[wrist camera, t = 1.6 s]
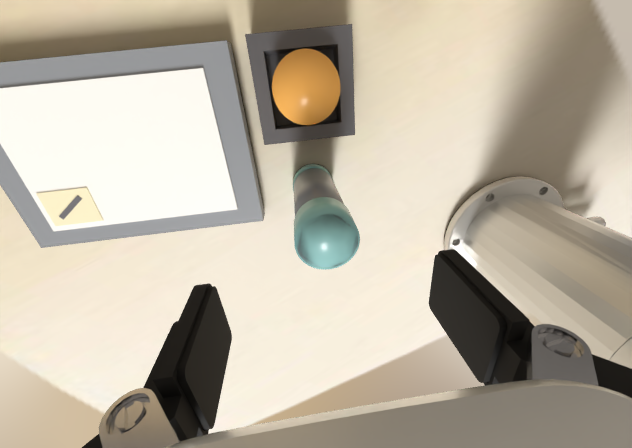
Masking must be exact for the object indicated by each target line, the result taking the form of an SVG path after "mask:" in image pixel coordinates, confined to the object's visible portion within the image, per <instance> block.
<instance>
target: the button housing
mask: <svg viewBox="0 0 632 448" xmlns="http://www.w3.org/2000/svg"><path fill="white" fill-rule="evenodd" d="M245 36H246V42H247V48H248V53H249V59H250V65H251V70H252V76H253V82H254V87H255V93H256V99H257V105H258V110H259V116H260V122H261V127H262V133H263V139H264V144H265V145H268V144H277V143H286V142H295V141H304V140H313V139H322V138H330V137H339V136H348V135H355V116H354V79H353V41H352V24H348V25H338V26H328V27H317V28H307V29H297V30H286V31H276V32H265V33H255V34H245ZM298 49H313V50H316V51H319V52H321V53H322V54H324V55H325V56H327V57H328V58H329V59H330V60H331V62H332V63H333V64H334V66H335V68H336V70H337V72H338V75H339V79H340V96H339V100H338V103H337V105H336V107H335V109H334V110H333V112H332V113H331V114H330V115H329V116H328V117H327V118H326V119H325V120H323V121H321V122H319V123H317V124H313V125H301V124H297V123H294V122H292V121H290V120H289V119H287V118H286V117H285V116H284V115H283V114H282V113H281V112H280V110H279V109H278V107H277V105H276V103H275V100H274V97H273V92H272V81H273V76H274V72H275V70H276V67H277V66H278V64H279V63H280V61H281V60H282V59H283V58H284V57H285V56H286V55H288V54H289V53H291V52H293V51H295V50H298Z"/></svg>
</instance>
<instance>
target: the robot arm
mask: <svg viewBox="0 0 632 448" xmlns="http://www.w3.org/2000/svg"><path fill="white" fill-rule="evenodd" d="M605 226H606V222H605V220H604V219H603V218H601V217H590V218H584V217H582V216H580V215H577V214H575V213H573V212H571V211H568V210H566V209H564V204H563V200H562V197H561V196H560V194H559V192H558V191H557V190H556V189H555V188H554V187H553V186H551V185H550V184H548V183H546V182H544V181H541V180H538V179H535V178H532V177H523V176H517V177H509V178H505V179H502V180H498V181H495V182H493V183H491V184H489V185H487V186H485V187H483V188H482V189H480V190H479V191H477V192H476V193H474V194H473V195H472V196H471V197H470V198H469V199H467V200H466V201H465V202H464V203H463V204H462V206H461V207H460V208H459V209H458V210H457V212H456V213H455V215H454V216H453V218H452V220H451V221H450V223H449V226H448V228H447V231H446V235H445V240H444V250H443V251H439V253H438V255H436V256H435V259H434V267H433V274H432V282H431V290H430V297H429V306H430V309H431V311H432V312H433V314H434V315H435V317H436V318H437V320H438V321H439V323H440V324H441V326H442V327H443V329H444V330H445V332H446V333H447V335H448V336H449V338H450V339H451V341H452V342H453V344H454V345H455V347H456V348H457V350H458V351H459V353H460V354H461V356H462V357H463V359H464V360H465V362H466V363H467V365H468V366H469V368H470V369H471V371H472V372H473V374H474V375H475V377H476V378H477V380H478V381H479V382H481V383H484V384H485V386H480V387H473V388H467V389H461V390H455V391H449V392H442V393H437V394H431V395H424V396H418V397H413V398H406V399H400V400H395V401H389V402H383V403H377V404H371V405H365V406H359V407H354V408H347V409H342V410H336V411H330V412H324V413H319V414H313V415H308V416H302V417H296V418H291V419H285V420H279V421H273V422H268V423H262V424H257V425H251V426H246V427H241V428H236V429H231V430H226V431H221V432H216V433H211V434H208V430H209V429H212V428H213V426H214V423H215V419H216V414H217V409H218V404H219V399H220V394H221V389H222V384H223V379H224V375H225V370H226V365H227V360H228V355H229V350H230V345H231V340H232V335H231V330H230V327H229V324H228V321H227V318H226V315H225V312H224V309H223V306H222V304H221V301H220V298H219V295H218V292H217V289H216V287H215V286H214V287H212V286H211V284H203V285H196V286H194V288H193V290H192V292H191V294H190V297H189V299H188V301H187V303H186V305H185V308H184V310H183V312H182V314H181V317H180V319H179V321H176V322H175V323H174V324H173V326H172V327H171V330H170V332H169V334H168V336H167V338H166V340H165V343H164V345H163V347H162V349H161V351H160V353H159V355H158V358H157V360H156V362H155V364H154V366H153V368H152V370H151V373H150V375H149V377H148V379H147V381H146V383H145V386H144V388H140V389H136V390H133V391H130V392H128V393H127V394H125V395H123V396H122V397H120V398H119V399H118V400H117V401H115V402H114V403H113V404H112V406H111V407H110V408H109V409H108V410H107V411H106V413H105V415H104V416H103V418H102V420H101V423H100V426H99V434H98V435H97V436H96V437H94V438H93V439H92V440H91V441H89V442H88V443H87V444H86V445H84V446H83V447H82V448H632V238H630V237H628V236H626V235H624V234H621V233H619V232H617V231H614V230H612V229H610V228H607V227H605Z"/></svg>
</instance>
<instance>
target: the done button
mask: <svg viewBox="0 0 632 448" xmlns="http://www.w3.org/2000/svg"><path fill="white" fill-rule="evenodd" d="M272 92H273V97H274V100H275V103H276V105H277V107H278V109H279V110H280V112H281V113H282V114H283V115H284V116H285V117H286V118H287V119H289V120H290V121H292V122H294V123H297V124H301V125H313V124H317V123H319V122H321V121H323V120H325V119H326V118H327V117H328V116H329V115H330V114H331V113H332V112H333V110H334V109H335V107H336V105H337V103H338V100H339V96H340V79H339V75H338V72H337V70H336V68H335V66H334V64H333V63H332V62H331V60H330V59H329V58H328V57H327V56H325V55H324V54H322V53H321V52H319V51H316V50H313V49H298V50H295V51H293V52H291V53H289V54H288V55H286V56H285V57H284V58H283V59H282V60H281V61H280V63H279V64H278V66H277V67H276V70H275V72H274V76H273V81H272Z"/></svg>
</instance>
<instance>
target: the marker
mask: <svg viewBox="0 0 632 448" xmlns="http://www.w3.org/2000/svg"><path fill="white" fill-rule="evenodd" d="M293 190H294V203H295V219H294V241H295V249H296V252H297V254H298V256H299V258H300V259H301V260H302V261H303V262H304V263H306V264H307V265H309V266H311V267H313V268H317V269H333V268H337V267H339V266H342V265H343V264H345V263H347V262H348V261H349V260H350V259H351V258H352V257H353V256H354V255H355V253H356V251H357V249H358V247H359V242H360V236H359V231H358V229H357V227H356V225H355V223H354V221H353V218H352V216H351V214H350V212H349V210H348V209H347V207H346V206H345V205H344V203H343V201H342V199H341V197H340V195H339V193H338V191H337V189H336V187H335V184H334V182H333V179H332V177H331V175H330V173H329V172H328V170H327V169H326V168H324V167H323V166H321V165H317V164H309V165H306V166H303V167H302V168H300V169H299V170H298V171H297V173H296V174H295V176H294V180H293Z"/></svg>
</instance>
